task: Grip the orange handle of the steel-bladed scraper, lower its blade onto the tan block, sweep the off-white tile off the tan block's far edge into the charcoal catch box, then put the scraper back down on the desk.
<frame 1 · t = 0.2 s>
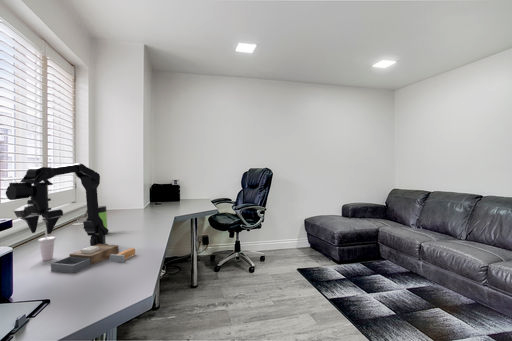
hand: (41, 233, 110), 15 cm above the table, tool pointing down, fingers open, 9 cm apart
catch box: (71, 267, 108), on the table
scraper: (125, 258, 118), on the table
tile: (90, 251, 117), point 4 cm above the table, touching tan block
smoothie: (47, 259, 120), on the table
tan block: (95, 258, 119), on the table
tumbler: (100, 234, 165), on the table
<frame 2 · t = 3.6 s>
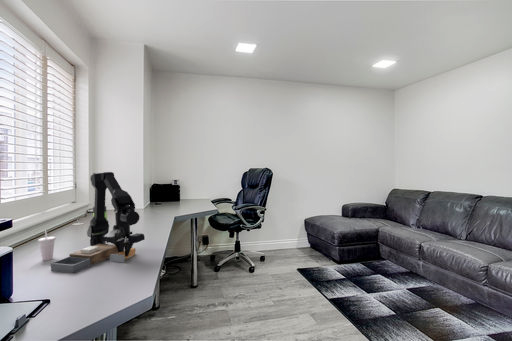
hand: (124, 256, 118), 1 cm above the table, tool pointing down, fingers closed on scraper, 2 cm apart
scraper: (125, 257, 118), on the table, touching gripper
everything else where it was.
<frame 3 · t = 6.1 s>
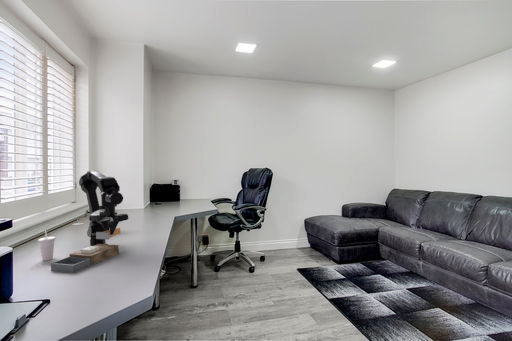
hand: (109, 234, 128), 9 cm above the table, tool pointing down, fingers closed on scraper, 2 cm apart
scraper: (110, 236, 128), point 8 cm above the table, touching gripper
everything else where it was.
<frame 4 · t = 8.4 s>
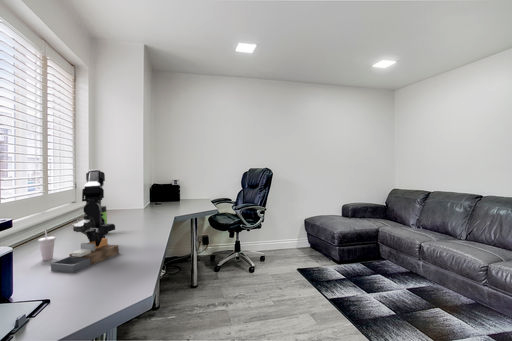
hand: (95, 246, 119), 6 cm above the table, tool pointing down, fingers closed on scraper, 2 cm apart
scraper: (96, 247, 120), point 5 cm above the table, touching gripper, tile
tile: (81, 254, 113), point 4 cm above the table, touching scraper
everything else where it was.
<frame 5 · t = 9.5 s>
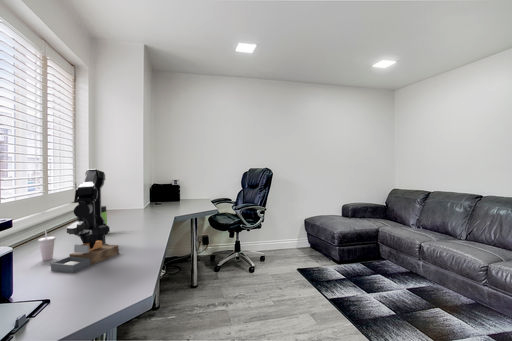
hand: (89, 248, 117), 5 cm above the table, tool pointing down, fingers closed on scraper, 2 cm apart
scraper: (90, 249, 117), point 5 cm above the table, touching gripper
tile: (69, 263, 108), point 2 cm above the table, tilted 180°, touching catch box
everything else where it was.
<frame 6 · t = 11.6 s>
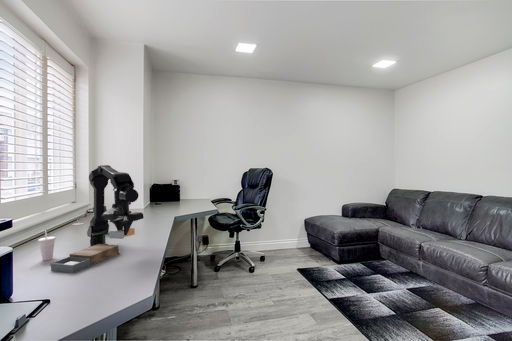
hand: (123, 235, 118), 11 cm above the table, tool pointing down, fingers closed on scraper, 2 cm apart
scraper: (124, 236, 118), point 10 cm above the table, touching gripper
everything else where it was.
when the fingers open (1 cm above the table, at t = 13.4 s): scraper stays where it is, on the table.
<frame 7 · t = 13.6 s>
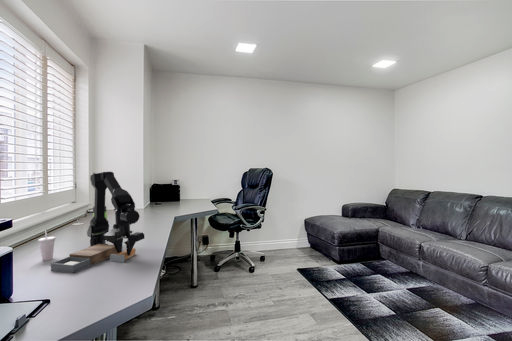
hand: (124, 255, 118), 1 cm above the table, tool pointing down, fingers open, 5 cm apart
scraper: (125, 258, 119), on the table
everything else where it was.
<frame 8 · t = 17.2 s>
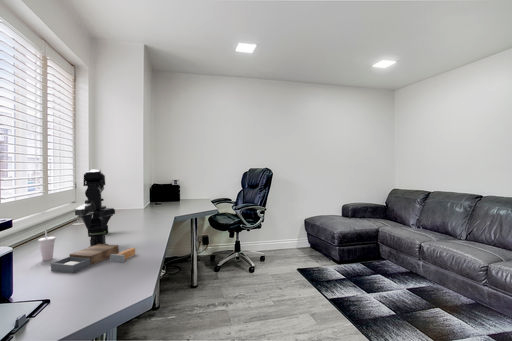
hand: (95, 229, 125), 12 cm above the table, tool pointing down, fingers open, 9 cm apart
nothing on the table moved.
at the end: tile inside the target area (0.7 cm from its centre), point 2.0 cm above the table; scraper inside the target area (0.1 cm from its centre), on the table; the gripper is holding nothing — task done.
